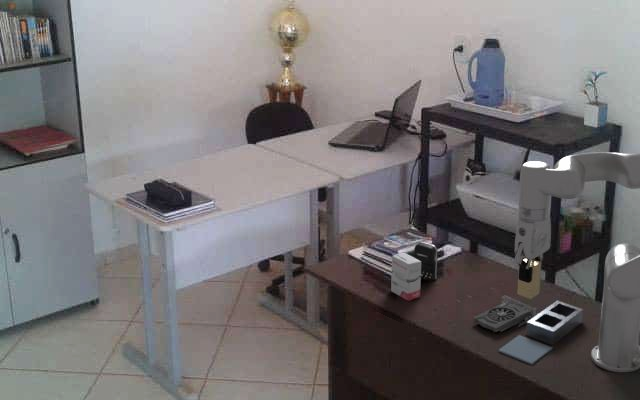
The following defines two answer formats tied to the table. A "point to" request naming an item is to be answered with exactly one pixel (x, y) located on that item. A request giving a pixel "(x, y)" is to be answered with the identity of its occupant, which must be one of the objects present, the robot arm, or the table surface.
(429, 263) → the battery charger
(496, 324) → the graphics card
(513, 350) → the mat
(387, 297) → the table surface
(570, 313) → the cinder block
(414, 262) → the ink box
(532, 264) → the brass peg
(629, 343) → the robot arm
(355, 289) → the table surface
